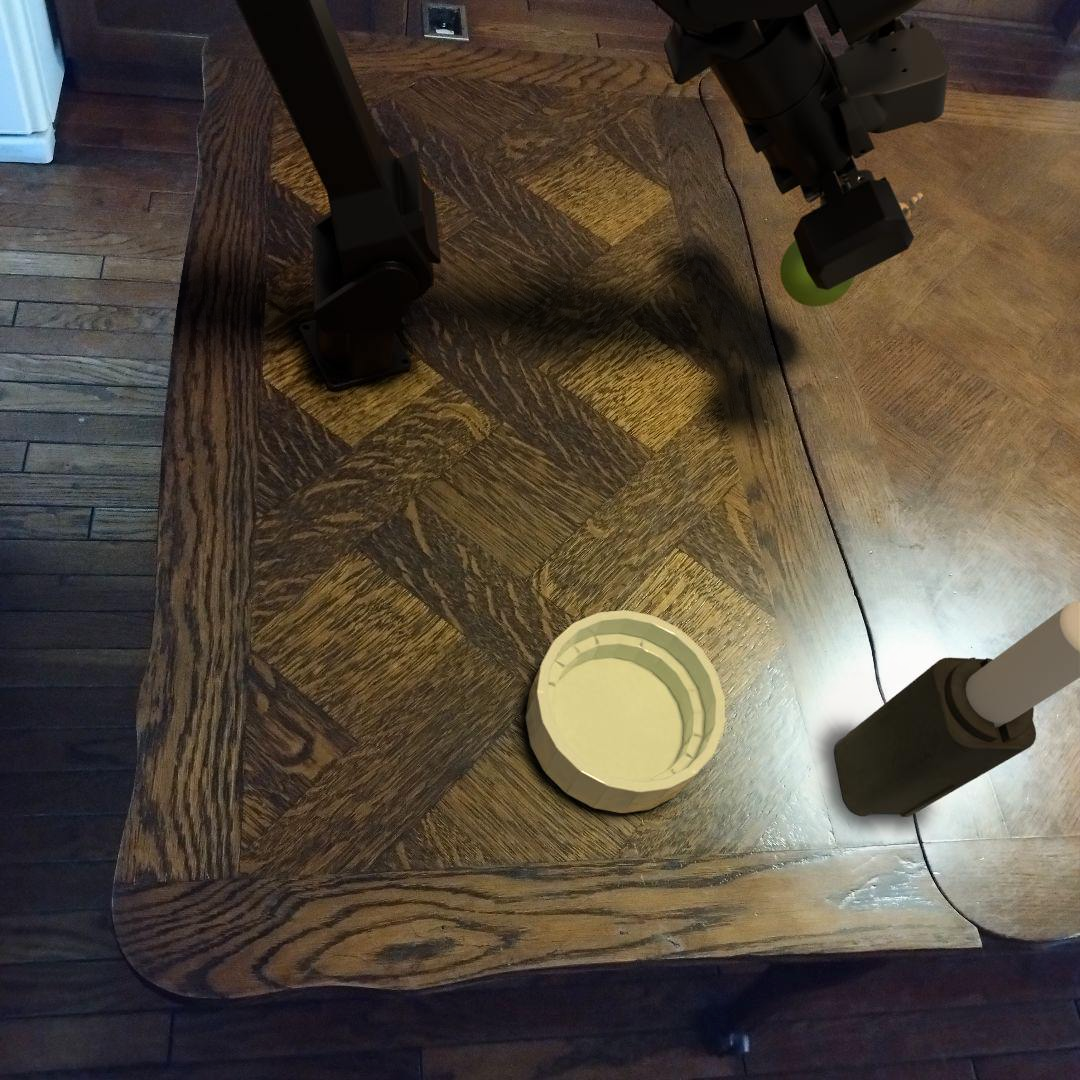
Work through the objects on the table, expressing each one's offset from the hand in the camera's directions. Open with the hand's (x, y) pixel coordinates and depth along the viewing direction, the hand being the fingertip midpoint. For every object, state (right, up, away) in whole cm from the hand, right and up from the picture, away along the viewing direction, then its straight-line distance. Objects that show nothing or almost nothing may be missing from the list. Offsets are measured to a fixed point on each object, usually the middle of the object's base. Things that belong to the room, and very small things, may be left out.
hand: (861, 232), depth 70 cm
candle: (-1, -37, -7) cm, 38 cm away
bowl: (-18, -33, -8) cm, 39 cm away
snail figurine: (-2, -3, +5) cm, 7 cm away
